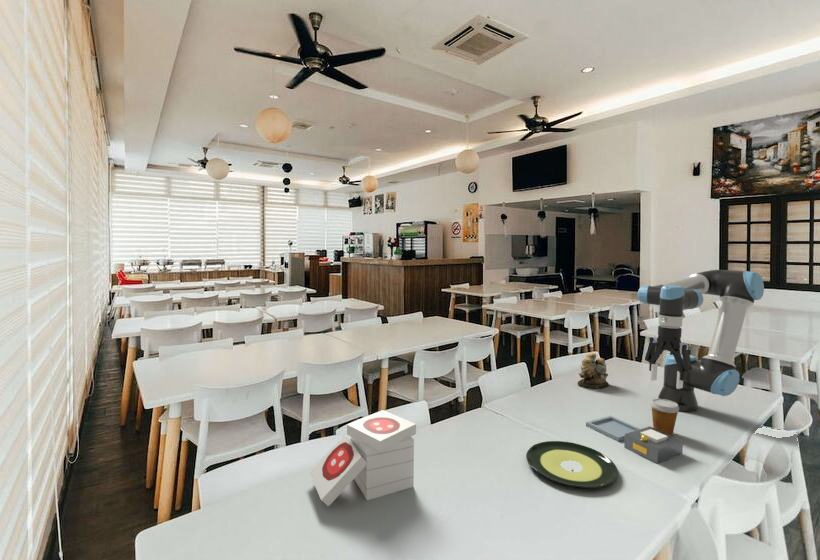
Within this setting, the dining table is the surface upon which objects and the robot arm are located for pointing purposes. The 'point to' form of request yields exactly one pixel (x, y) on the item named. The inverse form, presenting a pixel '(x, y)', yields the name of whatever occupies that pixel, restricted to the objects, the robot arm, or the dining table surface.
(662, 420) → the disposable coffee cup
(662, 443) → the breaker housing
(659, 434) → the button
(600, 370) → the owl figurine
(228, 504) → the dining table surface
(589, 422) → the tray
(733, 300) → the robot arm
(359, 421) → the pizza boxes
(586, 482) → the plate
